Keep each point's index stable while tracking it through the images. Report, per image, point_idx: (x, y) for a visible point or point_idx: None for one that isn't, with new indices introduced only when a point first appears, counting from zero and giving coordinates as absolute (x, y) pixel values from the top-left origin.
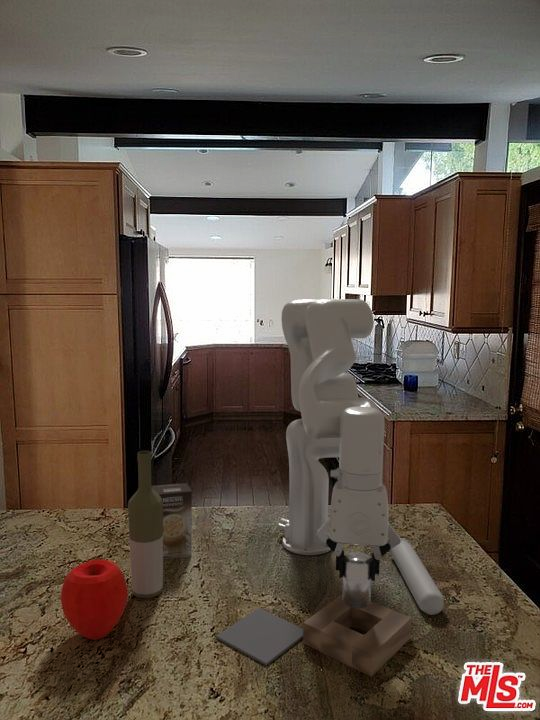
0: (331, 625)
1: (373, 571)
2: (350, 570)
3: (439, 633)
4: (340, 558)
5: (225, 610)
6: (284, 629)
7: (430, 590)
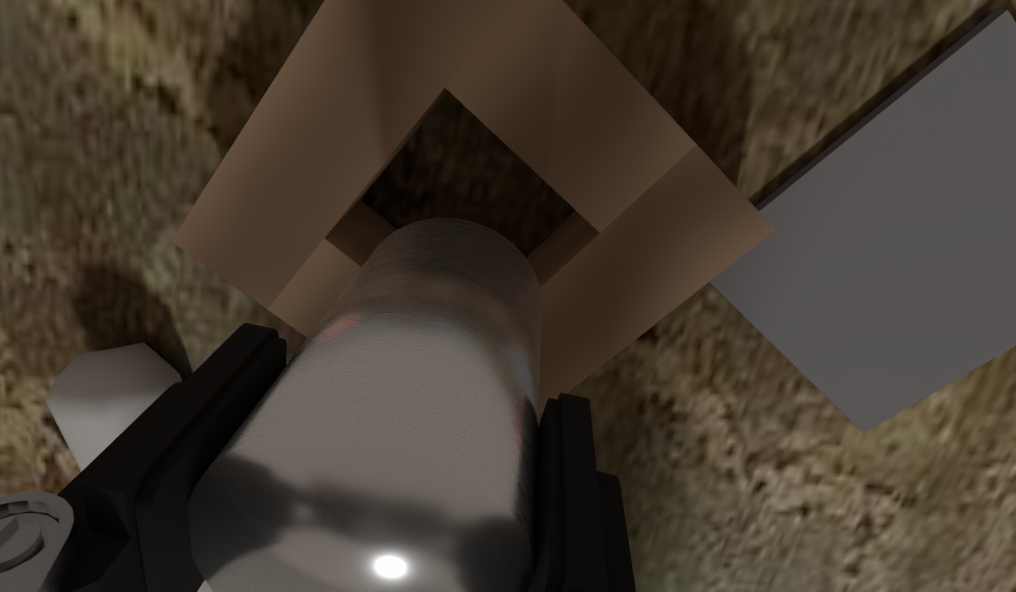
0: (618, 193)
1: (209, 383)
2: (475, 412)
3: (108, 229)
4: (595, 575)
5: (1005, 435)
6: (802, 284)
7: (85, 433)
